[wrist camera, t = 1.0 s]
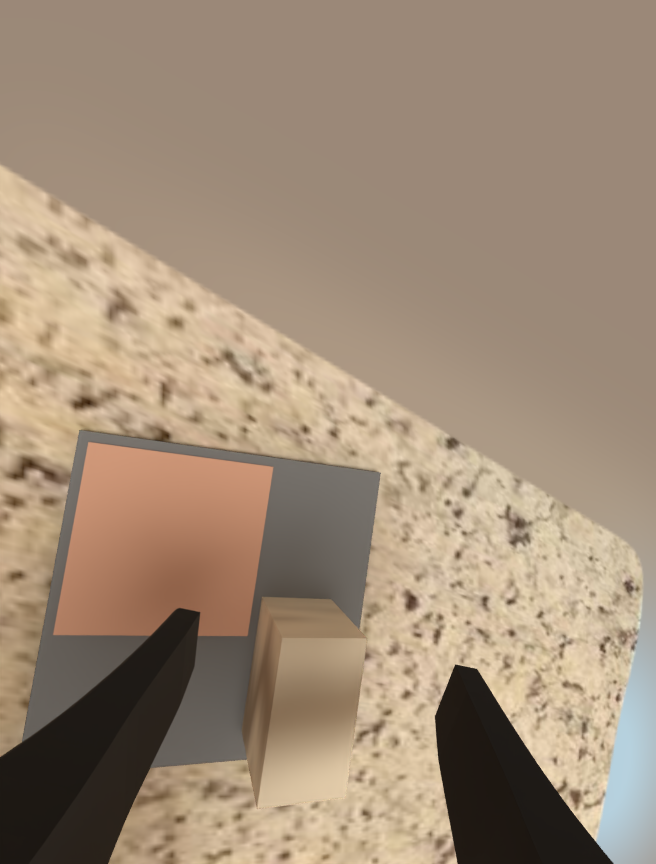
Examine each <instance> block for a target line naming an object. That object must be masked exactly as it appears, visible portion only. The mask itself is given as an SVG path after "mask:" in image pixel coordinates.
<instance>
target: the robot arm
mask: <svg viewBox="0 0 656 864" xmlns="http://www.w3.org/2000/svg"><path fill="white" fill-rule="evenodd" d="M199 621H200V612H198V611H193V610H188V609H183V608H178V609H176V610H174V611H173V613H172V614H171V615H170V616H169V617H168V618H167V619H166V620H165V621H164V622H163V623H162V624H161V625H160V626H159V627H158V628H157V629H156V631H155V632H154V633H153V634H152V635H151V636H150V637H149V638H147V639H146V640H145V641H144V642H143V643H142V644H141V645H140V646H139V647H138V648H137V649H136V650H135V651H134V652H133V653H132V654H131V655H130V656H129V657H128V658H126V659H125V660H124V661H123V662H122V663H121V664H120V665H119V666H118V667H117V668H116V669H115V670H113V671H112V672H111V673H110V674H109V675H108V676H106V677H105V678H104V679H103V680H102V681H101V682H99V683H98V684H97V685H96V686H95V687H94V688H92V689H91V690H90V691H89V692H88V693H87V694H85V695H84V696H83V697H82V698H80V699H79V700H78V701H77V702H75V703H74V704H73V705H72V706H70V707H69V708H68V709H67V710H65V711H64V712H63V713H61V714H60V715H59V716H58V717H56V718H55V719H54V720H52V721H51V722H50V723H48V724H47V725H45V726H44V727H43V728H41V729H40V730H39V731H37V732H36V733H34V734H33V735H32V736H30V737H29V738H27V739H26V740H24V741H23V742H22V743H20V744H19V745H17V746H16V747H14V748H13V749H12V750H10V751H9V752H7V753H6V754H4V755H3V756H1V757H0V864H108V862H109V860H110V857H111V855H112V852H113V850H114V847H115V845H116V842H117V840H118V837H119V835H120V832H121V830H122V827H123V825H124V822H125V820H126V818H127V816H128V813H129V811H130V809H131V807H132V804H133V802H134V800H135V798H136V796H137V794H138V792H139V790H140V788H141V786H142V784H143V781H144V779H145V777H146V775H147V773H148V771H149V769H150V767H151V765H152V763H153V761H154V759H155V757H156V755H157V753H158V751H159V749H160V746H161V744H162V742H163V740H164V738H165V736H166V734H167V732H168V730H169V728H170V726H171V724H172V722H173V720H174V717H175V715H176V713H177V711H178V709H179V707H180V704H181V702H182V699H183V697H184V694H185V691H186V689H187V686H188V683H189V680H190V678H191V675H192V672H193V669H194V667H195V658H196V648H197V639H198V630H199ZM435 723H436V737H437V749H438V760H439V765H440V771H441V777H442V782H443V788H444V793H445V799H446V804H447V809H448V814H449V820H450V825H451V830H452V836H453V841H454V846H455V852H456V857H457V862H458V864H613V862H612V861H611V860H610V859H609V858H608V856H607V855H606V854H605V853H604V852H603V850H602V849H601V848H600V847H599V845H598V844H597V843H596V842H595V840H594V839H593V838H592V837H591V835H590V834H589V833H588V832H587V830H586V829H585V828H584V827H583V825H582V824H581V823H580V821H579V820H578V819H577V818H576V816H575V815H574V814H573V812H572V811H571V810H570V808H569V807H568V806H567V804H566V803H565V802H564V800H563V799H562V798H561V796H560V795H559V794H558V792H557V791H556V789H555V788H554V787H553V785H552V784H551V782H550V781H549V780H548V778H547V777H546V775H545V774H544V773H543V771H542V770H541V768H540V767H539V765H538V764H537V762H536V761H535V759H534V758H533V756H532V755H531V753H530V752H529V750H528V749H527V747H526V746H525V744H524V743H523V741H522V740H521V738H520V737H519V735H518V734H517V732H516V731H515V729H514V727H513V726H512V724H511V723H510V721H509V720H508V718H507V716H506V715H505V713H504V712H503V710H502V708H501V707H500V705H499V704H498V702H497V700H496V699H495V697H494V696H493V694H492V692H491V691H490V689H489V687H488V686H487V684H486V683H485V681H484V679H483V678H482V676H481V675H480V673H479V671H478V670H477V669H474V668H470V667H465V666H460V665H455V667H454V669H453V672H452V674H451V677H450V679H449V682H448V684H447V687H446V690H445V692H444V695H443V697H442V700H441V702H440V705H439V707H438V710H437V713H436V715H435Z"/></svg>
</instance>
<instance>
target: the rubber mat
mask: <svg viewBox="0 0 656 864" xmlns="http://www.w3.org/2000/svg"><path fill="white" fill-rule="evenodd" d="M380 474H381V473H379V472H373V471H365V470H358V469H351V468H344V467H337V466H330V465H323V464H316V463H309V462H302V461H295V460H288V459H281V458H274V457H267V456H260V455H253V454H246V453H238V452H231V451H224V450H217V449H210V448H203V447H196V446H189V445H182V444H175V443H168V442H161V441H154V440H147V439H140V438H133V437H126V436H119V435H111V434H104V433H97V432H90V431H83V430H79V435H78V441H77V446H76V452H75V457H74V463H73V468H72V473H71V479H70V484H69V490H68V495H67V500H66V506H65V511H64V517H63V522H62V528H61V533H60V538H59V544H58V549H57V555H56V560H55V566H54V571H53V576H52V582H51V587H50V593H49V598H48V603H47V609H46V614H45V620H44V625H43V631H42V636H41V641H40V647H39V652H38V658H37V663H36V669H35V674H34V679H33V685H32V690H31V696H30V701H29V706H28V712H27V717H26V723H25V728H24V734H23V739H22V742H23V741H24V740H26V739H27V738H29V737H30V736H32V735H33V734H34V733H36V732H37V731H39V730H40V729H41V728H43V727H44V726H45V725H47V724H48V723H50V722H51V721H52V720H54V719H55V718H56V717H58V716H59V715H60V714H61V713H63V712H64V711H65V710H67V709H68V708H69V707H70V706H72V705H73V704H74V703H75V702H77V701H78V700H79V699H80V698H82V697H83V696H84V695H85V694H87V693H88V692H89V691H90V690H91V689H92V688H94V687H95V686H96V685H97V684H98V683H99V682H101V681H102V680H103V679H104V678H105V677H106V676H108V675H109V674H110V673H111V672H112V671H113V670H115V669H116V668H117V667H118V666H119V665H120V664H121V663H122V662H123V661H124V660H125V659H126V658H128V657H129V656H130V655H131V654H132V653H133V652H134V651H135V650H136V649H137V648H138V647H139V646H140V645H141V644H142V643H143V642H144V641H145V640H146V639H147V638H149V637H150V636H151V635H152V634H153V633H154V632H155V631H156V629H157V628H158V627H159V626H160V625H161V624H162V623H163V622H164V621H165V620H166V619H167V618H168V617H169V616H170V615H171V614H172V613H173V611H174V610H176V609H178V608H183V609H188V610H193V611H198V612H200V621H199V630H198V639H197V648H196V658H195V667H194V669H193V672H192V675H191V678H190V680H189V683H188V686H187V689H186V691H185V694H184V697H183V699H182V702H181V704H180V707H179V709H178V711H177V713H176V715H175V717H174V720H173V722H172V724H171V726H170V728H169V730H168V732H167V734H166V736H165V738H164V740H163V742H162V744H161V746H160V749H159V751H158V753H157V755H156V757H155V759H154V761H153V763H152V765H151V767H150V768H154V767H166V766H177V765H189V764H200V763H212V762H223V761H235V760H247V756H246V751H245V746H244V741H243V736H242V725H243V718H244V711H245V705H246V698H247V692H248V685H249V679H250V672H251V665H252V659H253V652H254V646H255V639H256V633H257V626H258V620H259V613H260V606H261V600H262V597H282V598H310V599H331V600H332V601H333V602H334V603H335V604H336V605H337V606H338V607H339V608H340V609H341V610H342V612H343V613H344V614H345V615H346V616H347V617H348V618H349V619H350V620H351V621H352V622H353V624H354V625H355V626H356V627H357V628H358V629H359V627H360V620H361V612H362V605H363V598H364V590H365V583H366V576H367V569H368V561H369V554H370V547H371V539H372V532H373V525H374V518H375V510H376V503H377V496H378V488H379V481H380Z"/></svg>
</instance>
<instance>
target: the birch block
mask: <svg viewBox="0 0 656 864" xmlns="http://www.w3.org/2000/svg"><path fill="white" fill-rule="evenodd" d="M366 643H367V638H366V637H365V635H364V634H363V633H362V632H361V631H360V630H359V629H358V628H357V627H356V626H355V625H354V624H353V622H352V621H351V620H350V619H349V618H348V617H347V616H346V615H345V614H344V613H343V612H342V610H341V609H340V608H339V607H338V606H337V605H336V604H335V603H334V602H333V601H332V600H331V599H310V598H282V597H262V600H261V606H260V613H259V620H258V626H257V633H256V639H255V646H254V652H253V659H252V665H251V672H250V679H249V685H248V692H247V698H246V705H245V711H244V718H243V725H242V736H243V741H244V746H245V751H246V756H247V761H248V766H249V771H250V776H251V781H252V786H253V791H254V796H255V801H256V806H257V809H261V808H269V807H277V806H285V805H293V804H301V803H309V802H317V801H325V800H333V799H341V798H346V791H347V783H348V776H349V769H350V761H351V754H352V746H353V739H354V732H355V724H356V717H357V710H358V702H359V695H360V687H361V680H362V673H363V665H364V658H365V651H366Z"/></svg>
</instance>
